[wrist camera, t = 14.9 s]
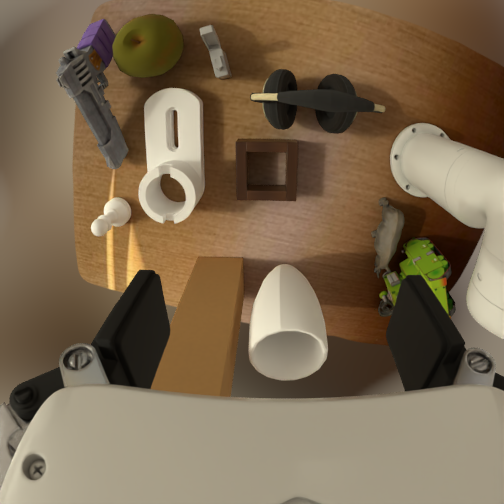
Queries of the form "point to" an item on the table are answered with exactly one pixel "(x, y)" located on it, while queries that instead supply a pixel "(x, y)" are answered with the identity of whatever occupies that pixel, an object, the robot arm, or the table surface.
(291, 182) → the holder
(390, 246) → the rhino figurine
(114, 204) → the chess pawn
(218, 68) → the grey angled piece
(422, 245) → the lime green boxy piece
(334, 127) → the headphones
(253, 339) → the cup
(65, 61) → the handgun
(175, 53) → the apple
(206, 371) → the black-topped square pillar
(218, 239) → the table surface
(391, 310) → the corroded twin loop
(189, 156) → the bracket
